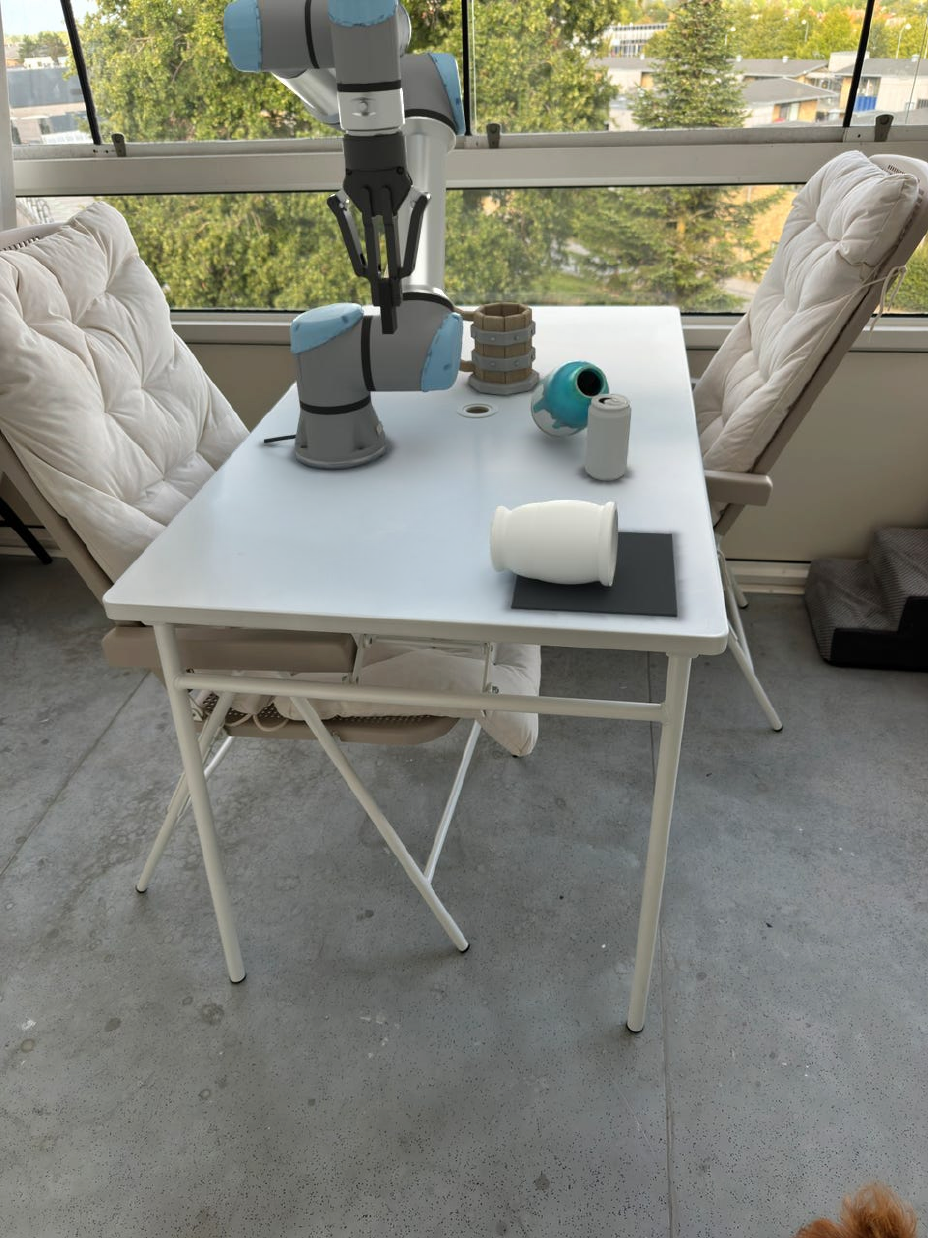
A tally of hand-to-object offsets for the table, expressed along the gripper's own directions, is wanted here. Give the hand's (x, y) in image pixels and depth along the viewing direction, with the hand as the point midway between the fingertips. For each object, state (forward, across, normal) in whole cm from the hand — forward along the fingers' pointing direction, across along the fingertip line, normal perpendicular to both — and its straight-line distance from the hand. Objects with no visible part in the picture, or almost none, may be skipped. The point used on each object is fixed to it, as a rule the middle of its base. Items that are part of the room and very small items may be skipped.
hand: (390, 330), depth 123 cm
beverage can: (+27, +29, +14) cm, 42 cm away
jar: (+21, +16, -17) cm, 31 cm away
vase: (+24, +20, +32) cm, 44 cm away
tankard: (+27, +5, +54) cm, 60 cm away
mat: (+26, +28, -15) cm, 42 cm away
